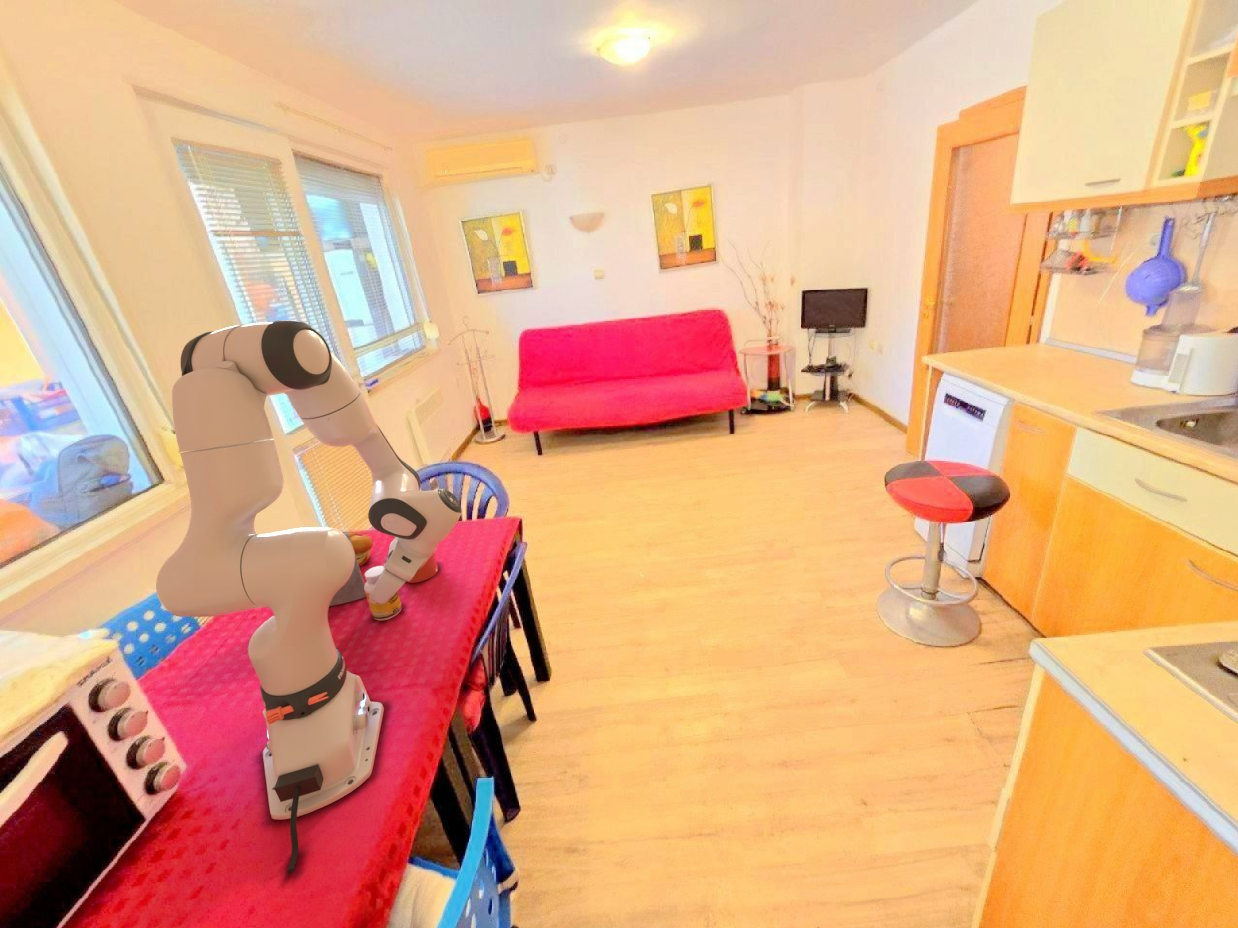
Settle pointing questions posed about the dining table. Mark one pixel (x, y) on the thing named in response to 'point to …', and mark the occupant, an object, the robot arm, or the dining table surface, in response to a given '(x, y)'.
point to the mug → (426, 570)
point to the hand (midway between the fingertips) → (378, 590)
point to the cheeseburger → (361, 547)
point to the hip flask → (350, 586)
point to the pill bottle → (378, 610)
